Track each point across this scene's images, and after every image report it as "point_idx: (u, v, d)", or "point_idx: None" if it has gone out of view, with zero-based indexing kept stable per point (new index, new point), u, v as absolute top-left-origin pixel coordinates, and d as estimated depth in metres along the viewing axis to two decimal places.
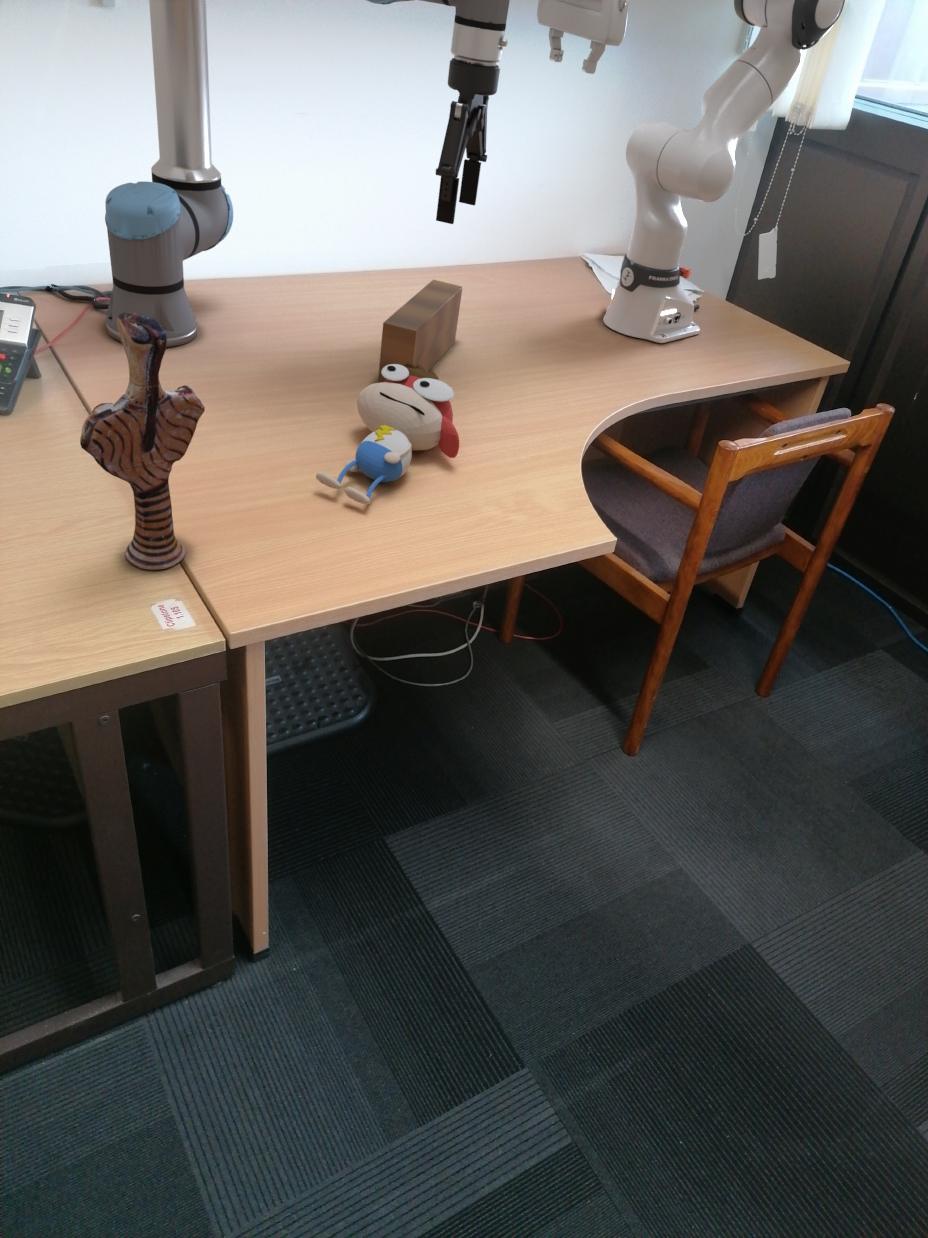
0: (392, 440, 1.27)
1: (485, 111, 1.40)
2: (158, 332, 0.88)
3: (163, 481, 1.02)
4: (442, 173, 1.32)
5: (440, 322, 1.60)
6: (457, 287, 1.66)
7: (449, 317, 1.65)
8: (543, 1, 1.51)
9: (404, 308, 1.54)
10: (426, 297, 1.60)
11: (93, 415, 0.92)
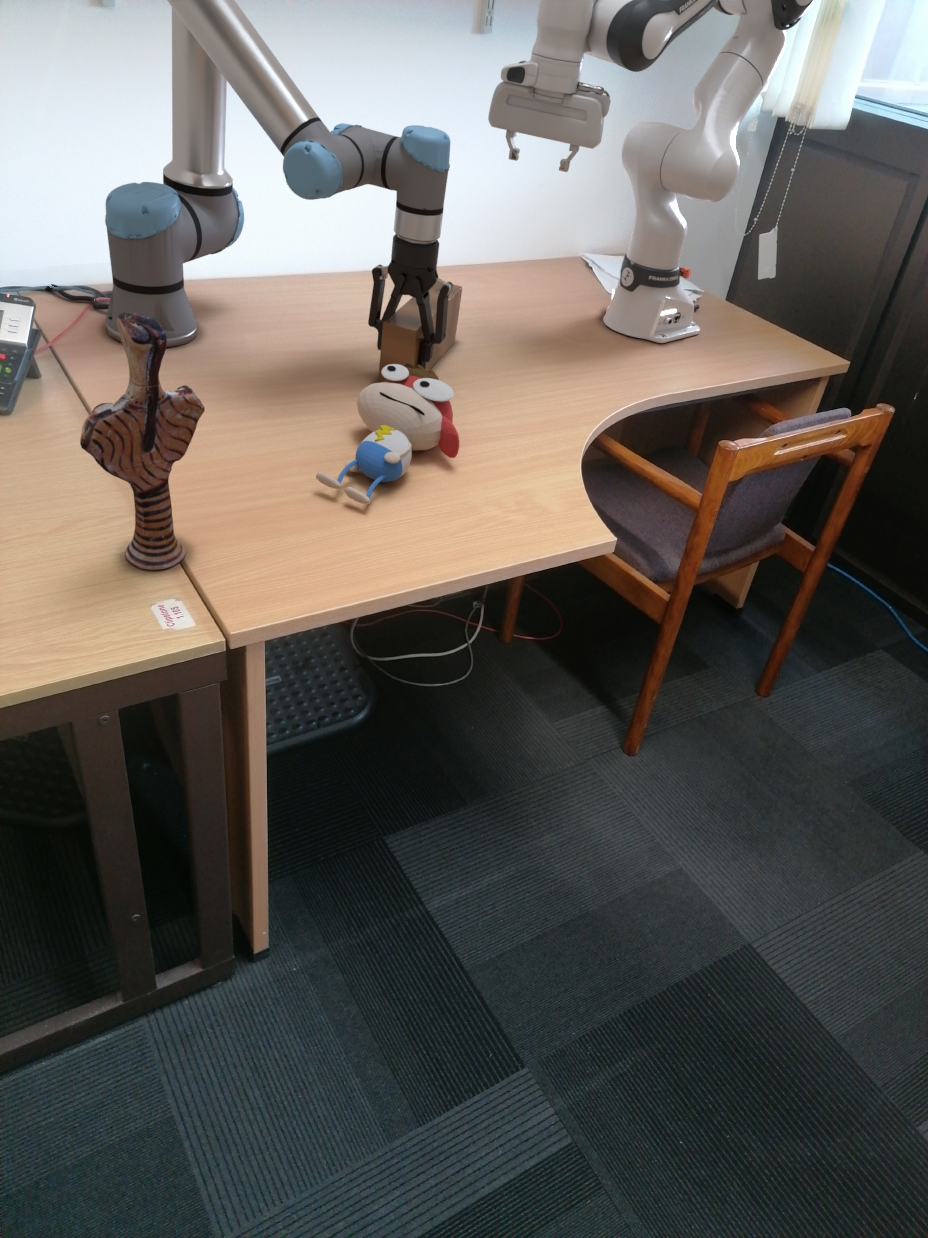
0: (392, 440, 1.27)
1: None
2: (158, 332, 0.88)
3: (163, 481, 1.02)
4: (441, 341, 1.51)
5: None
6: (457, 287, 1.66)
7: (449, 317, 1.65)
8: (498, 106, 1.54)
9: (404, 308, 1.54)
10: None
11: (93, 415, 0.92)
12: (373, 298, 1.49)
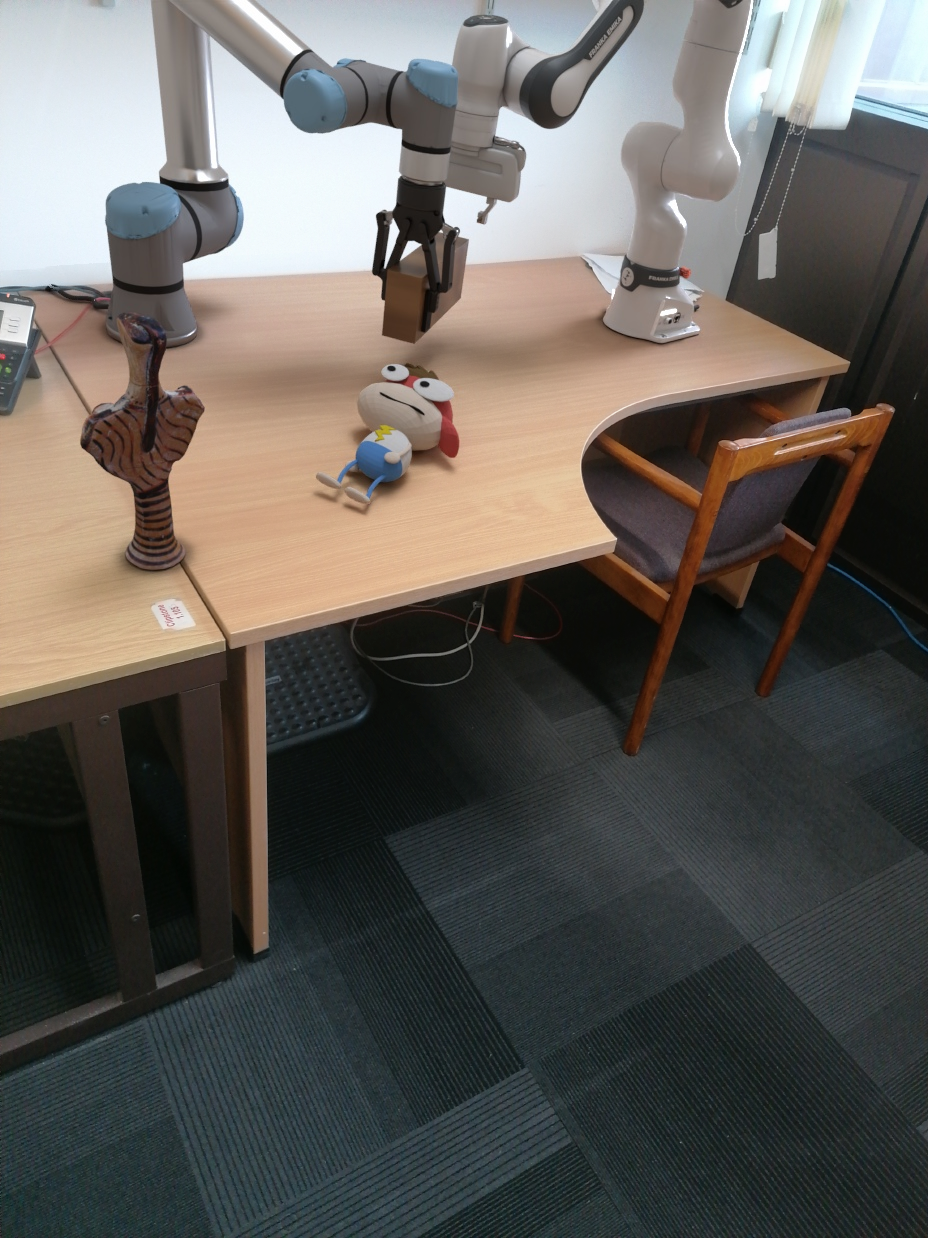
0: (392, 440, 1.27)
1: (389, 224, 1.44)
2: (158, 332, 0.88)
3: (163, 481, 1.02)
4: None
5: None
6: (464, 240, 1.61)
7: (455, 270, 1.59)
8: None
9: (409, 257, 1.49)
10: None
11: (93, 415, 0.92)
12: (377, 245, 1.44)
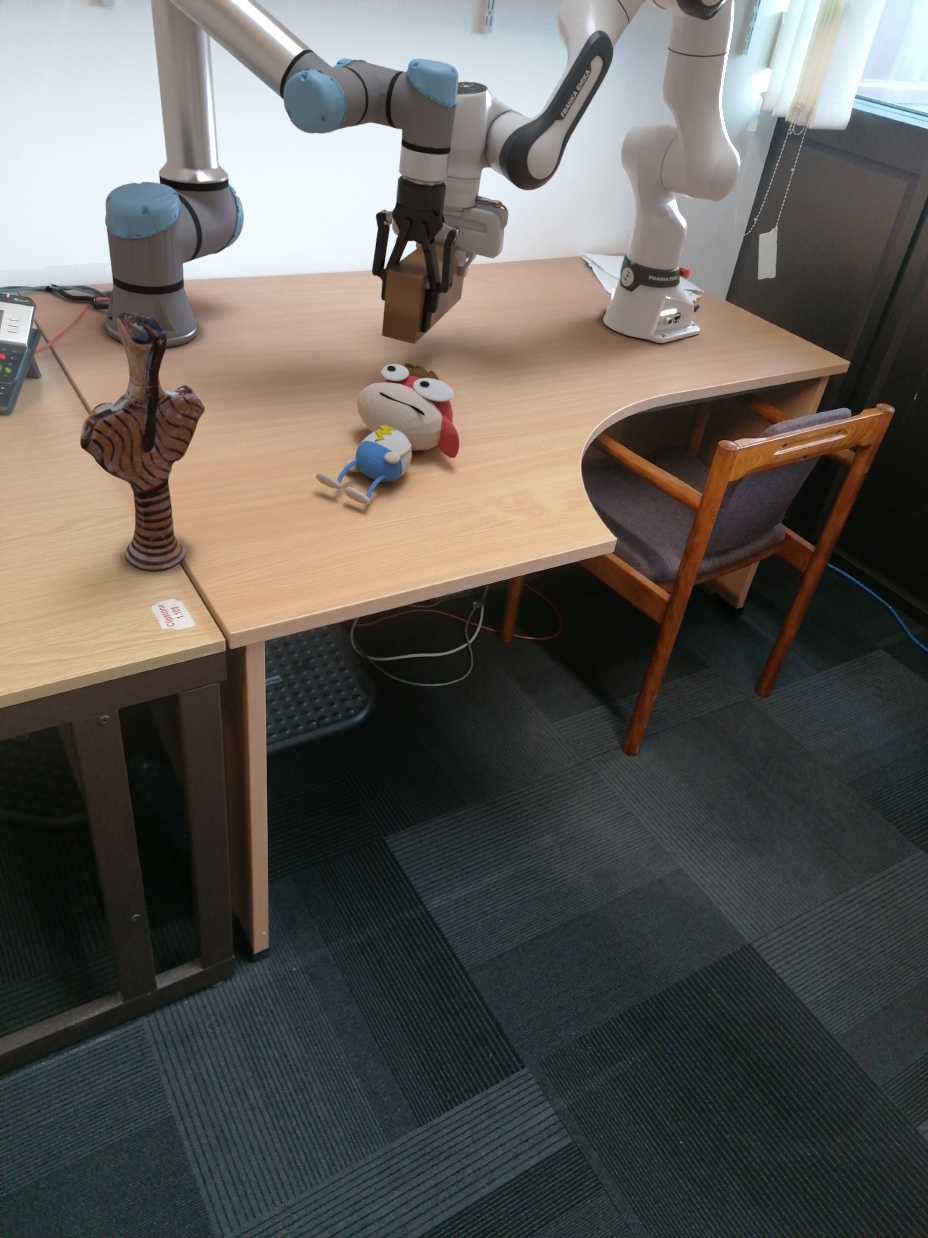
0: (392, 440, 1.27)
1: (389, 224, 1.44)
2: (158, 332, 0.88)
3: (163, 481, 1.02)
4: None
5: None
6: None
7: (455, 270, 1.59)
8: None
9: (409, 258, 1.49)
10: None
11: (93, 415, 0.92)
12: (377, 245, 1.44)
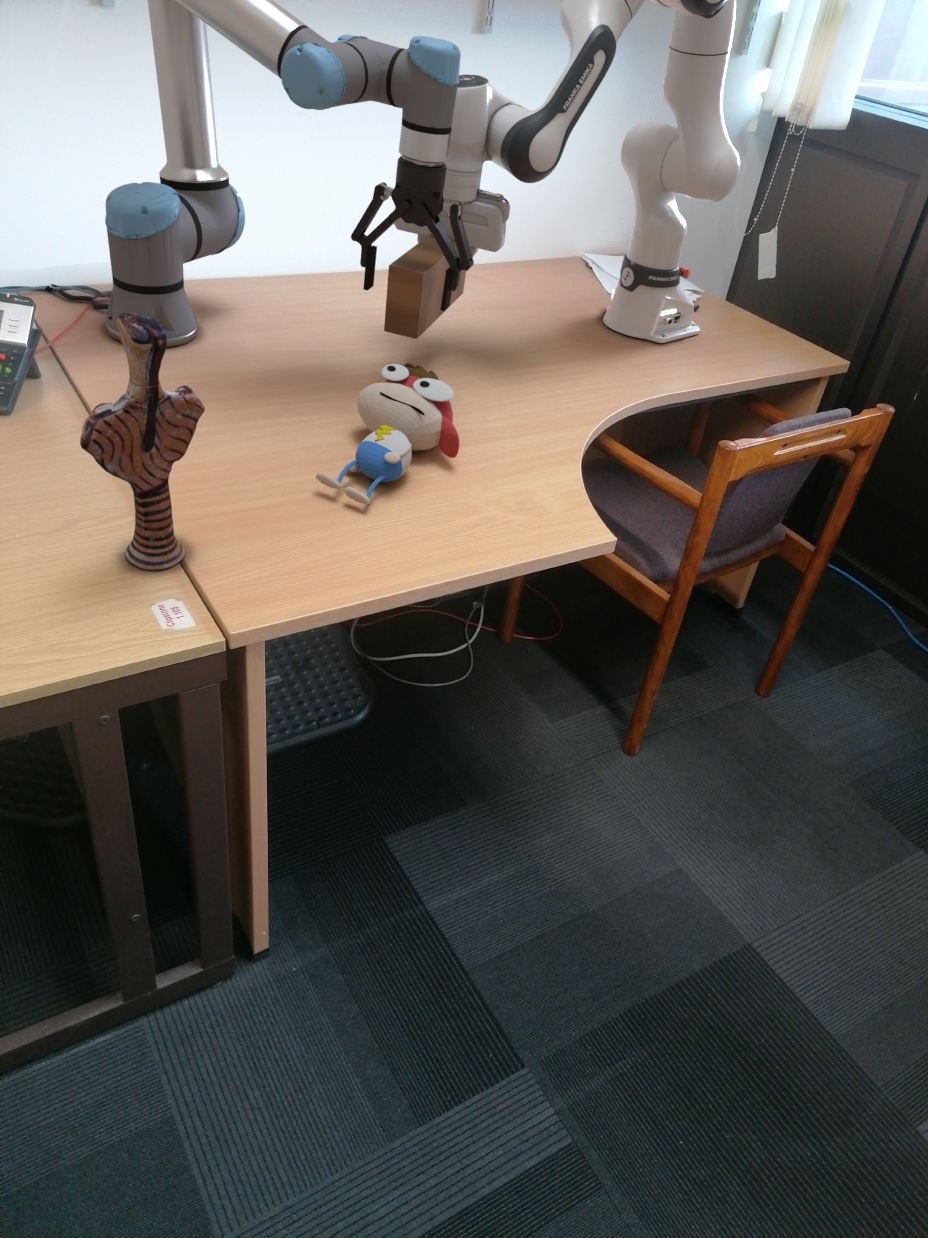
0: (392, 440, 1.27)
1: None
2: (158, 332, 0.88)
3: (163, 481, 1.02)
4: (469, 268, 1.42)
5: None
6: None
7: None
8: None
9: (411, 252, 1.48)
10: (433, 242, 1.54)
11: (93, 415, 0.92)
12: (366, 214, 1.40)
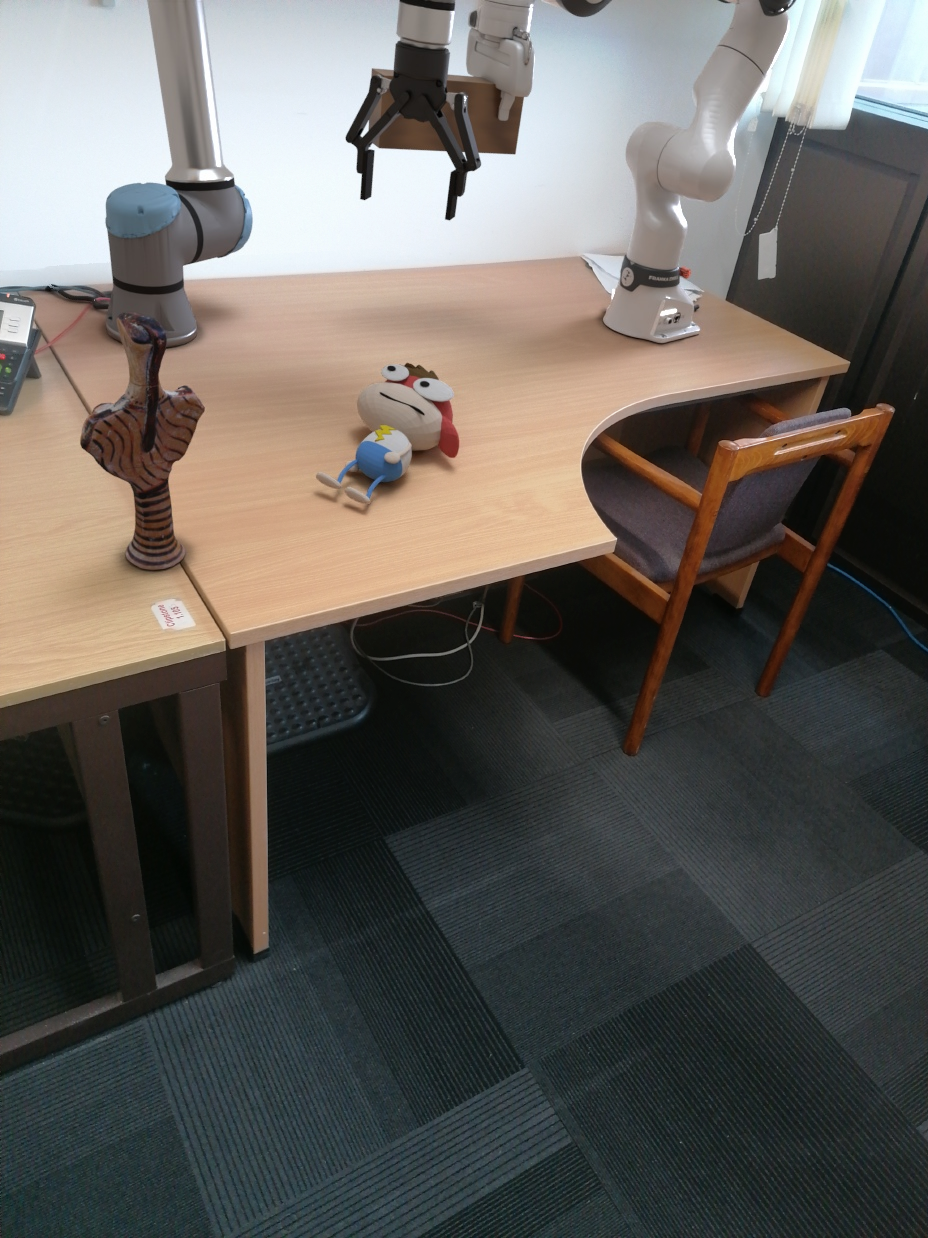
0: (392, 440, 1.27)
1: None
2: (158, 332, 0.88)
3: (163, 481, 1.02)
4: (476, 169, 1.28)
5: None
6: None
7: (488, 109, 1.56)
8: (470, 52, 1.59)
9: None
10: (463, 77, 1.54)
11: (93, 415, 0.92)
12: (361, 110, 1.27)
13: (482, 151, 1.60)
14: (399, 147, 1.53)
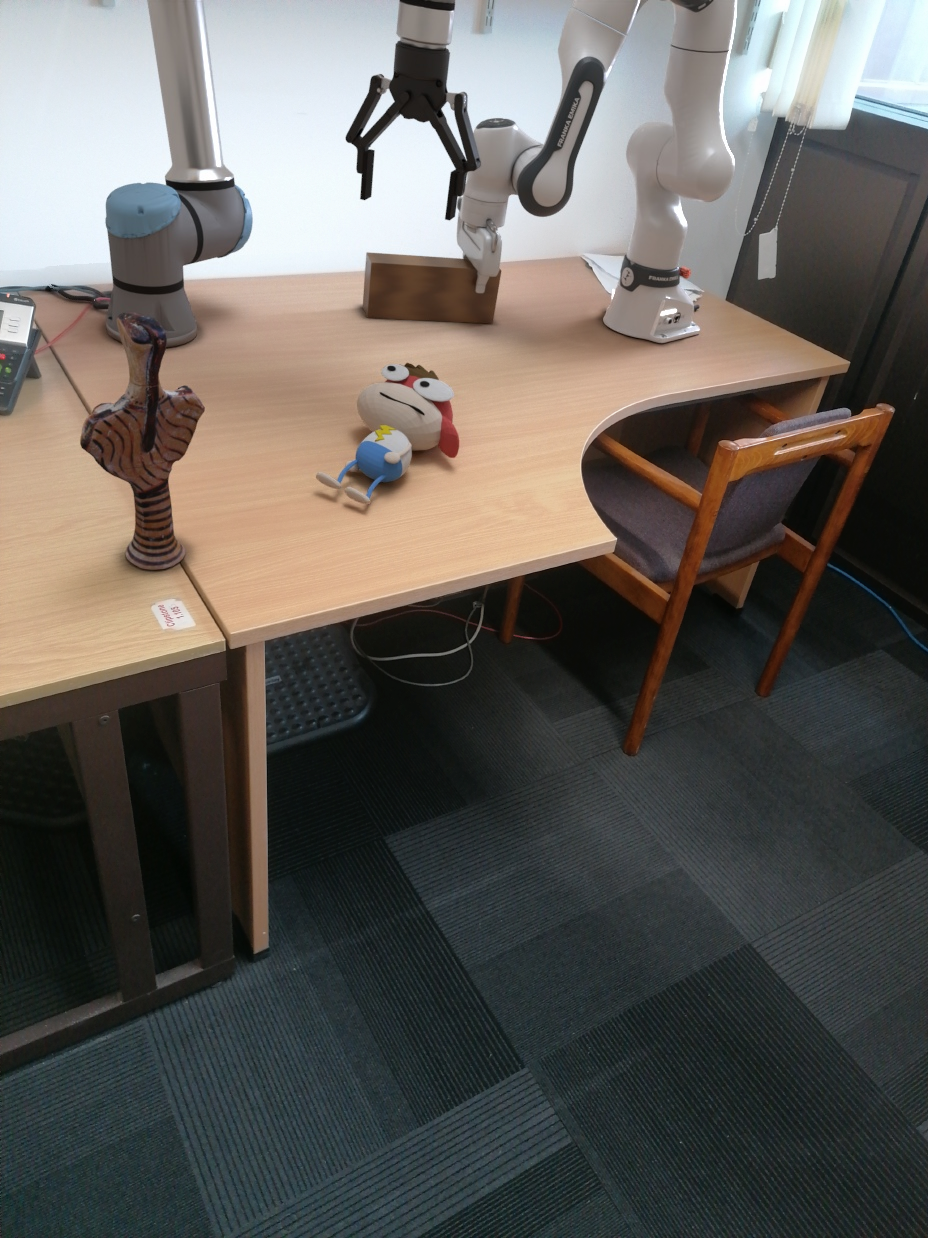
0: (392, 440, 1.27)
1: None
2: (158, 332, 0.88)
3: (163, 481, 1.02)
4: (476, 169, 1.28)
5: (440, 282, 1.77)
6: None
7: (467, 288, 1.79)
8: (459, 228, 1.82)
9: (408, 256, 1.77)
10: (447, 260, 1.78)
11: (93, 415, 0.92)
12: (361, 110, 1.27)
13: (461, 321, 1.83)
14: (385, 317, 1.78)
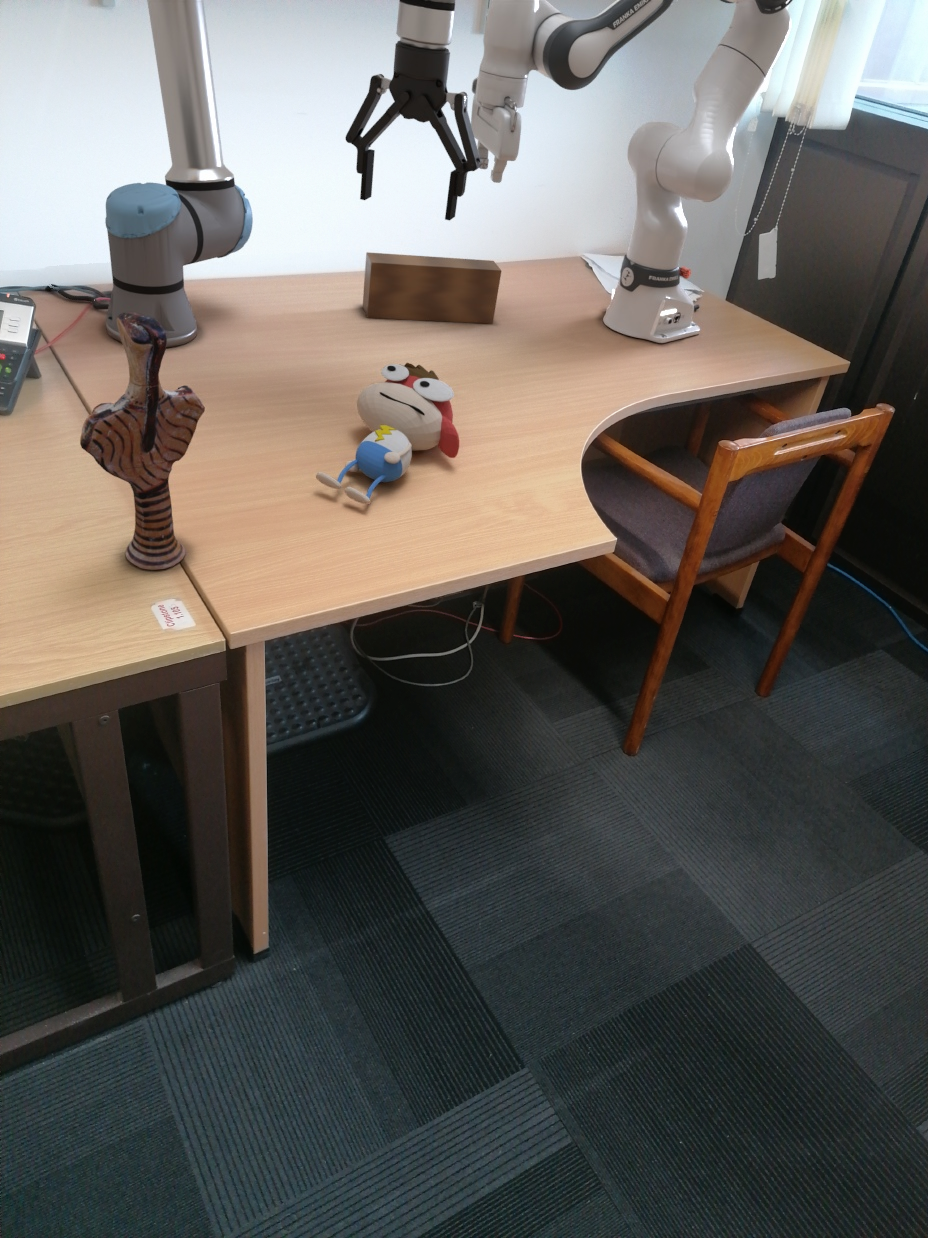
0: (392, 440, 1.27)
1: None
2: (158, 332, 0.88)
3: (163, 481, 1.02)
4: (476, 169, 1.28)
5: (440, 282, 1.77)
6: (493, 268, 1.78)
7: (467, 288, 1.79)
8: (474, 116, 1.69)
9: (408, 256, 1.77)
10: (447, 260, 1.78)
11: (93, 415, 0.92)
12: (361, 110, 1.27)
13: (461, 321, 1.83)
14: (385, 317, 1.78)
